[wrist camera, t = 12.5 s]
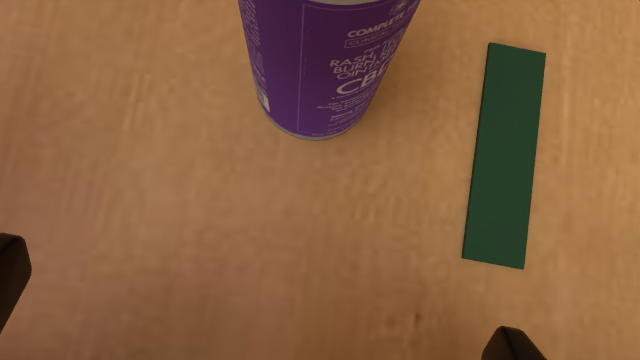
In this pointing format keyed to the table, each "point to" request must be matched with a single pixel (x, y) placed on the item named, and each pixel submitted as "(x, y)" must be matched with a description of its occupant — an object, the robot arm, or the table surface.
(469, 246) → the pointer strip
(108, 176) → the table surface
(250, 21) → the container
